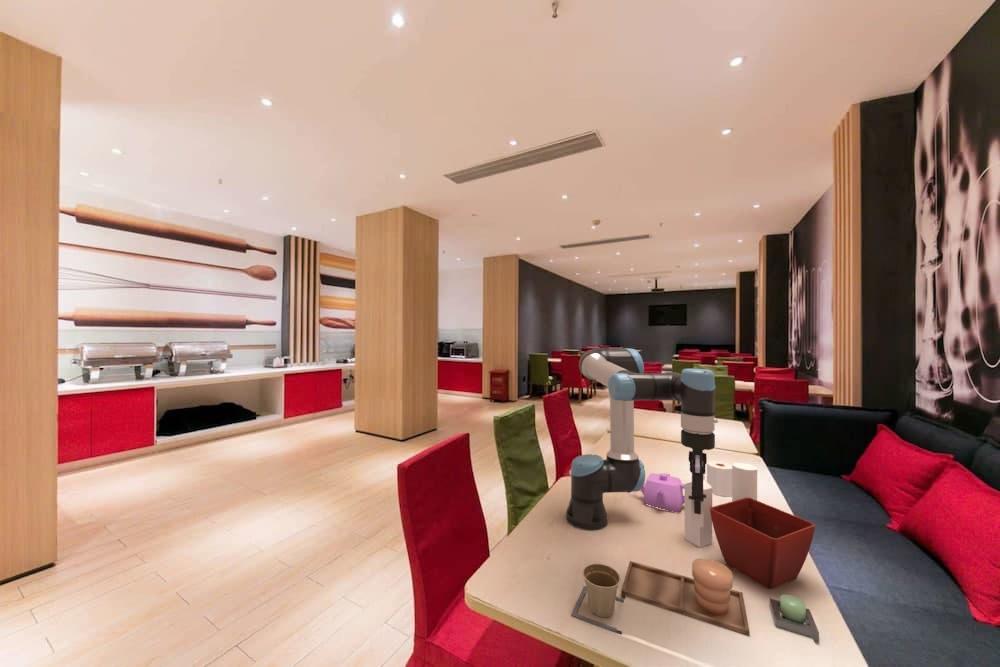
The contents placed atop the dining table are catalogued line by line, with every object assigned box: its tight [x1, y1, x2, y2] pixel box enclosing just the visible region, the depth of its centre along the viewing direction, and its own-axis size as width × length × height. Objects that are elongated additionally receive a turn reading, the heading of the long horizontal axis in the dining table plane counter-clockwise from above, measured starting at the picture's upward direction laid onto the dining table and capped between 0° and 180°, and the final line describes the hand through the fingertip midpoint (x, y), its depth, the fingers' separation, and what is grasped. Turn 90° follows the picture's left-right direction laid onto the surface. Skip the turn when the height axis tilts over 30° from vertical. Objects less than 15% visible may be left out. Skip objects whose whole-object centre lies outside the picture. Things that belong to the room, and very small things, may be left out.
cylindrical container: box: [731, 462, 758, 502], centre depth 126 cm, size 7×7×25 cm
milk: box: [683, 474, 713, 548], centre depth 125 cm, size 6×6×22 cm
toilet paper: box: [706, 460, 732, 497], centre depth 165 cm, size 10×10×12 cm
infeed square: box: [570, 585, 626, 635], centre depth 94 cm, size 12×12×1 cm
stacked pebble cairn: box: [691, 558, 734, 615], centre depth 94 cm, size 9×9×9 cm
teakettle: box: [640, 472, 686, 513], centre depth 152 cm, size 17×17×12 cm
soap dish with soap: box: [769, 597, 820, 644], centre depth 89 cm, size 8×8×2 cm
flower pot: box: [581, 563, 622, 618], centre depth 94 cm, size 9×9×9 cm
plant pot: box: [710, 498, 816, 590], centre depth 109 cm, size 19×19×17 cm
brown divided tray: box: [620, 560, 751, 637], centre depth 98 cm, size 28×15×2 cm, turn 62°
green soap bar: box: [779, 594, 807, 624], centre depth 89 cm, size 5×5×3 cm
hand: (697, 524), depth 92 cm, fingers closed
